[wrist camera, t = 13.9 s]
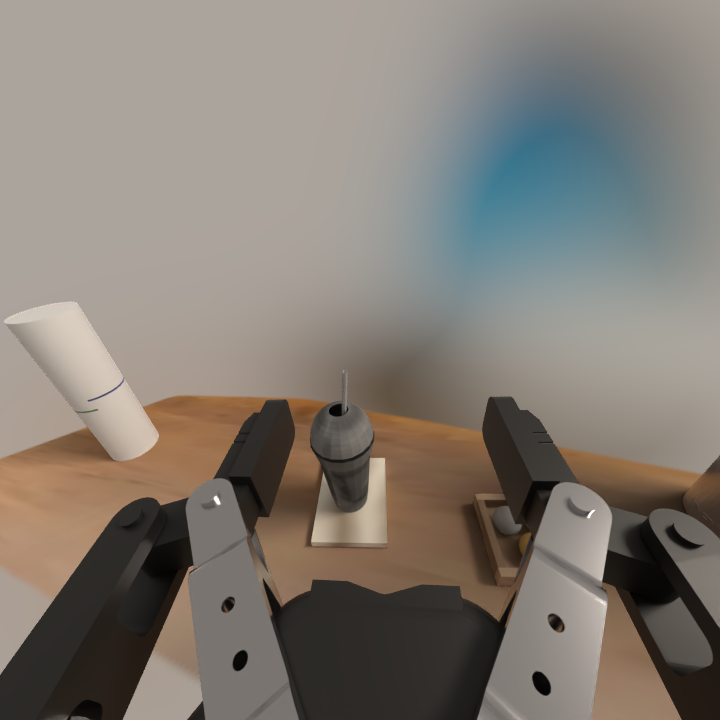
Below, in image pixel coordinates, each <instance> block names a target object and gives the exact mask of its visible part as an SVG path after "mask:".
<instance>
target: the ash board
mask: <svg viewBox="0 0 720 720" xmlns="http://www.w3.org/2000/svg"><path fill="white" fill-rule="evenodd" d="M311 544H312V546H323V547H379V548H387V516H386V483H385V458H370V466H369V487H368V496H367V501H366V504H365V505H364V506H363V507H362V508H361V509H360V510H358V511H356V512H352V513H348V512H344V511H341V510H340V509H339V508H338V507H337V506H336V504H335V501H334V499H333V497H332V495H331V492H330V489H329V487H328V484H327V481H326V478H325V475H324V472H323V477H322V483H321V488H320V494H319V500H318V505H317V511H316V516H315V522H314V528H313V533H312V539H311Z"/></svg>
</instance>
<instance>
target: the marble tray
mask: <svg viewBox="0 0 720 720" xmlns="http://www.w3.org/2000/svg"><path fill="white" fill-rule="evenodd" d="M473 506H474V509H475V513H476V516H477V520H478V523H479V526H480V530H481V533H482V537H483V540H484V544H485V547H486V550H487V554H488V557H489V561H490V564H491V567H492V571H493V574H494V578H495V581H496V584H497V586H512V584H513V581H514V578H515V576H516V573H517V570H518V567H519V565H520V562H521V559H522V556H523V554H524V551H525V548H526V545H527V543H528V540H529V537H530V535H531V533H530V530H529V528H528V525H527V524H515V523H514V520H513V517H512V514H511V512H510V509H509V506H508V504H507V501H506V498H505V496H504V494H475V497H474V501H473Z"/></svg>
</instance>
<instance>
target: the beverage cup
mask: <svg viewBox="0 0 720 720" xmlns="http://www.w3.org/2000/svg"><path fill="white" fill-rule="evenodd" d="M310 434H311V437H310V444H311V448H312V450H313V452H314V453H315V455H316V457H317V458H318V460H319V462H320V464H321V467H322V470H323V472H324V475H325V478H326V481H327V484H328V487H329V489H330V492H331V495H332V497H333V499H334V501H335V504H336V506H337V507H338V508H339V509H340V510H341V511H344V512H348V513H352V512H356V511H358V510H360V509H361V508H362V507H363V506H364V505H365V504H366V501H367V496H368V487H369V466H370V453H371V450H372V444H373V442H374V431H373V428H372V425H371V423H370V420H369V417H368V416H367V414H366V413H365V412H364V411H363V410H362V409H361V408H360V407H359V406H357V405H355V404H353V403H351V402H347V371H346V370H343V374H342V401H337V402H333V403H330V404H328V405H326V406H325V407H323V408H322V409H321V410H320V411H319V412H318V414H317V415H316V416H315V418H314V420H313V424H312V427H311V432H310Z"/></svg>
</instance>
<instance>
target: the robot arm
mask: <svg viewBox="0 0 720 720" xmlns="http://www.w3.org/2000/svg"><path fill="white" fill-rule="evenodd" d="M482 431H483V438H484V442H485V445H486V447H487V450H488V453H489V455H490V458H491V461H492V463H493V466H494V469H495V471H496V474H497V477H498V479H499V482H500V485H501V488H502V490H503V493H504V496H505V498H506V501H507V504H508V506H509V509H510V512H511V514H512V517H513V520H514V523H515V524H527V525H528V528H529V530H530V533H531V535H530V537H529V540H528V543H527V545H526V548H525V551H524V554H523V556H522V559H521V562H520V565H519V567H518V570H517V573H516V576H515V578H514V581H513V584H512V587H511V589H510V592H509V594H508V597H507V599H506V601H505V604H504V606H503V609H502V611H501V614H500V616H499V619H498V620H497V619H495V618H494V617H493V616H492V615H491V614H489V613H488V612H487V611H485V610H484V609H482V608H481V607H479V606H478V605H476V604H474V603H472V602H470V601H468V600H466V599H463V598H462V597H461V592H460V586H441V585H419V586H415V587H412V588H408V589H405V590H401V591H397V592H394V593H390V594H380V593H377V592H375V591H372V590H369V589H367V588H364V587H361V586H359V585H356V584H353V583H351V582H348V581H331V580H313V581H312V587H311V591H308V592H305V593H303V594H301V595H298V596H296V597H295V598H293V599H292V600H290V601H288V602H287V603H286V604H285V605H283V603H282V600H281V598H280V595H279V593H278V590H277V588H276V586H275V583H274V581H273V578H272V576H271V573H270V570H269V567H268V564H267V561H266V558H265V556H264V553H263V550H262V547H261V544H260V541H259V538H258V535H257V532H256V529H255V525H256V522H257V519H258V517H269V515H270V512H271V509H272V506H273V503H274V500H275V497H276V494H277V491H278V488H279V485H280V482H281V478H282V475H283V472H284V469H285V466H286V463H287V460H288V457H289V454H290V451H291V448H292V445H293V442H294V437H295V427H294V423H293V419H292V416H291V412H290V409H289V405H288V402H287V400H267V401H266V402H265V404H264V406H263V408H262V410H261V412H260V413H253V414H252V415H251V416H250V417H249V418H248V419H247V420H246V421H245V422H244V424H243V426H242V427H241V429H240V431H239V435H237V437H236V438H235V440H234V444H232V446H231V448H230V449H229V451H228V453H227V455H226V457H225V459H224V460H223V462H222V464H221V466H220V468H219V470H218V471H217V473H216V475H215V477H214V478H213V479H212V480H209V481H207V482H205V483H203V484H202V485H200V486H199V487H198V488H197V489H196V490H195V491H194V492H193V493H192V494H191V496H190V497H189V498H186V499H182V500H179V501H175V502H172V503H168V504H165V505H160V504H159V503H158V501H157V500H156V499H154V498H148V497H147V498H141V499H138V500H135V501H133V502H131V503H130V504H128V505H126V506H125V507H124V508H122V509H121V510H120V511H119V512H118V513H117V514H116V515H115V516H114V517H113V518H112V520H111V521H110V522H109V524H108V525H107V526H106V528H105V529H104V531H103V532H102V533H101V535H100V536H99V538H98V539H97V540H96V542H95V543H94V545H93V546H92V547H91V549H90V550H89V552H88V553H87V554H86V556H85V557H84V559H83V560H82V561H81V563H80V564H79V566H78V567H77V568H76V570H75V571H74V573H73V574H72V575H71V577H70V578H69V580H68V581H67V582H66V584H65V585H64V587H63V588H62V589H61V591H60V592H59V594H58V595H57V596H56V598H55V599H54V601H53V602H52V603H51V605H50V606H49V608H48V609H47V610H46V612H45V613H44V615H43V616H42V617H41V619H40V620H39V622H38V623H37V624H36V626H35V627H34V629H33V630H32V631H31V633H30V634H29V635H28V637H27V638H26V640H25V641H24V643H23V644H22V645H21V647H20V648H19V650H18V651H17V652H16V654H15V655H14V656H13V658H12V659H11V661H10V662H9V663H8V665H7V666H6V668H5V669H4V670H3V672H2V673H1V675H0V720H123V717H124V715H125V713H126V710H127V708H128V706H129V704H130V701H131V699H132V697H133V694H134V692H135V690H136V688H137V685H138V683H139V681H140V678H141V676H142V674H143V671H144V669H145V667H146V664H147V662H148V660H149V658H150V655H151V653H152V651H153V648H154V646H155V644H156V642H157V639H158V637H159V635H160V632H161V630H162V628H163V625H164V623H165V621H166V619H167V616H168V614H169V612H170V609H171V607H172V605H173V602H174V600H175V598H176V596H177V593H178V591H179V589H180V586H181V584H182V582H183V580H184V577H185V575H186V573H187V570H188V568H189V567H190V566H193V565H194V569H193V570H192V571H191V572H190V573H189V576H188V585H189V593H190V601H191V609H192V617H193V625H194V633H195V641H196V649H197V657H198V665H199V673H200V681H201V689H202V696H203V701H202V702H201V704H200V705H199V706H198V707H197V708H196V710H195V711H194V712H193V713H192V715H191V716H190V717H189V718H188V719H187V720H591V715H592V708H593V701H594V694H595V687H596V680H597V673H598V666H599V659H600V652H601V645H602V638H603V631H604V624H605V617H606V610H607V601H608V597H607V592H606V590H604V589H603V588H602V582H604V583H607V584H610V585H612V586H615V587H616V589H617V591H618V593H619V595H620V597H621V599H622V601H623V603H624V605H625V607H626V609H627V611H628V613H629V615H630V617H631V619H632V621H633V623H634V625H635V627H636V629H637V631H638V633H639V635H640V637H641V639H642V641H643V643H644V645H645V647H646V649H647V651H648V653H649V655H650V657H651V659H652V661H653V663H654V665H655V667H656V669H657V671H658V673H659V675H660V677H661V679H662V681H663V683H664V685H665V687H666V689H667V691H668V693H669V695H670V697H671V699H672V701H673V703H674V705H675V707H676V709H677V711H678V713H679V715H680V717H681V719H682V720H720V456H719V457H718V458H717V459H716V460H715V461H714V462H713V463H712V465H711V466H710V467H709V468H708V469H707V470H706V471H705V472H704V473H703V474H702V475H701V477H700V478H699V479H698V480H697V481H696V482H695V483H694V484H693V485H692V487H691V488H690V489H689V490H688V491H687V492H686V493H685V495H684V496H683V506H684V509H685V511H686V513H687V514H688V515H687V514H684V513H682V512H679V511H676V510H672V509H666V508H663V509H656V510H654V511H653V512H652V513H651V514H650V515H649V516H648V517H646V516H643V515H639V514H636V513H632V512H629V511H625V510H622V509H618V508H615V507H612V506H609V505H607V504H606V503H605V501H604V500H603V499H602V498H601V497H600V496H599V495H597V494H596V493H595V492H593V491H592V490H590V489H588V488H587V487H585V486H582V485H580V484H579V482H578V481H577V479H576V478H575V476H574V475H573V473H572V471H571V470H570V468H569V466H568V465H567V463H566V462H565V460H564V458H563V457H562V455H561V454H560V452H559V450H558V449H557V447H556V446H555V444H553V441H552V439H551V438H550V436H549V434H547V431H546V430H545V428H544V426H543V425H542V423H541V422H540V420H539V419H538V418H536V417H535V416H534V415H533V414H532V413H530V412H529V411H528V410H520V409H519V408H518V406H517V404H516V402H515V401H514V399H513V398H512V397H490V398H489V399H488V403H487V407H486V412H485V417H484V421H483V427H482Z"/></svg>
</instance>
